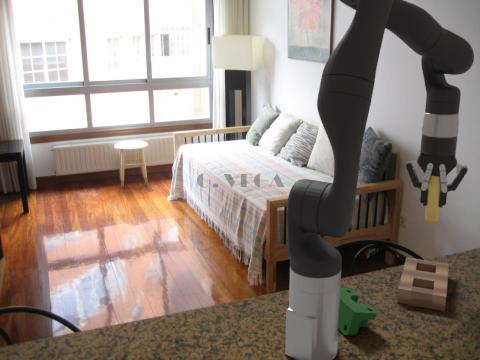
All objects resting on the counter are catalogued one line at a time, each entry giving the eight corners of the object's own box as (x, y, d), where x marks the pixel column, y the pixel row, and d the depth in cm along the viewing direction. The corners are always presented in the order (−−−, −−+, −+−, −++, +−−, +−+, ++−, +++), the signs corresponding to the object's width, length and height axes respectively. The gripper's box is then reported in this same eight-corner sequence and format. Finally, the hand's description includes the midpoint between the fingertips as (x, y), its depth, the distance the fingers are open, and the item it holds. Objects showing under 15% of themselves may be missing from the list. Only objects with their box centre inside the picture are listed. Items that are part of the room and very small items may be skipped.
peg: (434, 223, 120) (439, 177, 117) (422, 220, 122) (426, 175, 119) (440, 219, 122) (444, 174, 119) (427, 216, 124) (432, 172, 121)
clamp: (362, 348, 106) (383, 320, 102) (337, 348, 104) (358, 319, 99) (341, 302, 116) (360, 275, 111) (318, 301, 113) (336, 272, 109)
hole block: (444, 311, 112) (446, 296, 111) (396, 302, 116) (398, 288, 115) (447, 276, 128) (448, 263, 127) (405, 270, 132) (406, 257, 131)
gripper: (473, 131, 117) (465, 204, 121) (408, 128, 122) (403, 197, 127) (474, 138, 110) (465, 214, 115) (405, 133, 115) (399, 207, 120)
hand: (432, 205), depth 121 cm, fingers closed on peg, 3 cm apart
